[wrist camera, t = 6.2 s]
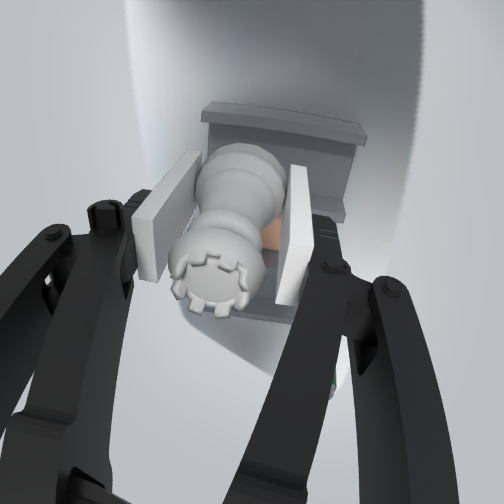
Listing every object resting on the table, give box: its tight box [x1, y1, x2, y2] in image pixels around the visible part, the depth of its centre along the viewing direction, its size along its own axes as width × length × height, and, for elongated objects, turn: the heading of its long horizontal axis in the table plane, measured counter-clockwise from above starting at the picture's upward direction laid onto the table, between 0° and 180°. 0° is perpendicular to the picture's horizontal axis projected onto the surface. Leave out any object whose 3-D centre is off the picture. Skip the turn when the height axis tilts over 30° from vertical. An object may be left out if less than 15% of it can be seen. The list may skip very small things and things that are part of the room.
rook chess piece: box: [168, 143, 288, 319], centre depth 13 cm, size 4×4×8 cm
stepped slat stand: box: [201, 102, 367, 325], centre depth 34 cm, size 25×14×4 cm, turn 174°
